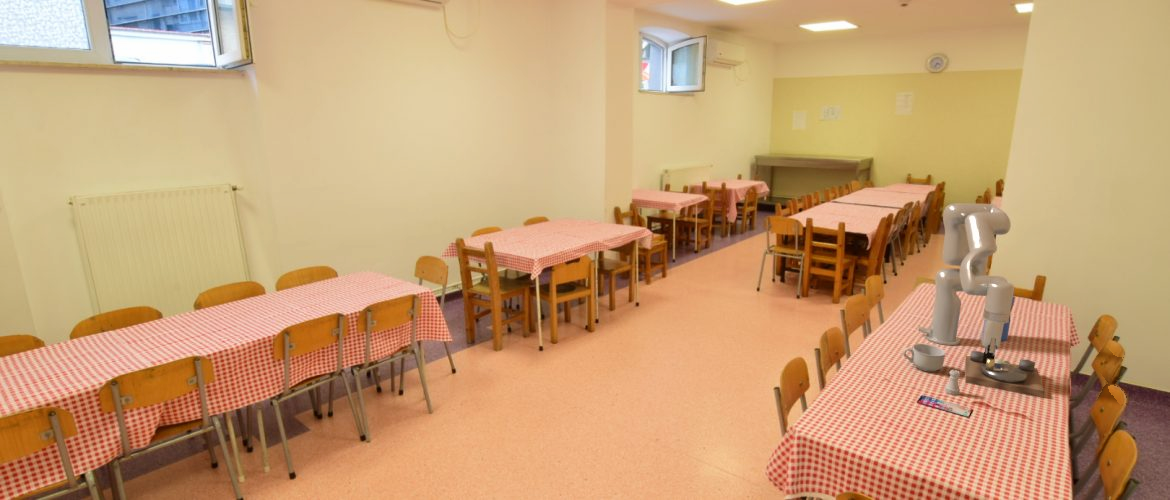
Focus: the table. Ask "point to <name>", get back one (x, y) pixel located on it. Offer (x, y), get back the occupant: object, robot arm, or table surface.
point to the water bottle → (1005, 325)
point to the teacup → (926, 357)
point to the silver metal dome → (1003, 372)
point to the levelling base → (1028, 387)
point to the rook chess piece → (953, 383)
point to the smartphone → (945, 406)
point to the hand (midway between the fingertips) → (987, 363)
